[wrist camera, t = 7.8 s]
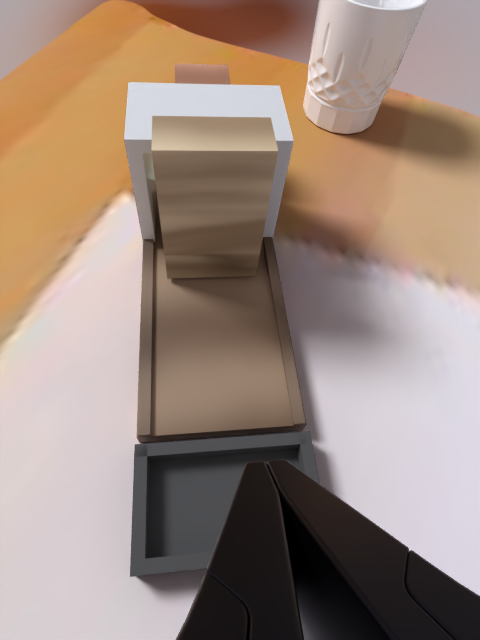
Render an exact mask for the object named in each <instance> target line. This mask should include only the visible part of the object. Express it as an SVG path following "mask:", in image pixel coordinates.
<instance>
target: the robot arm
mask: <svg viewBox="0 0 480 640" xmlns="http://www.w3.org/2000/svg"><path fill="white" fill-rule="evenodd" d="M176 640H480V596H479V595H477V594H476V593H474V592H472V591H471V590H469V589H468V588H466V587H465V586H463V585H461V584H460V583H458V582H457V581H455V580H454V579H452V578H451V577H450V576H448V575H447V574H445V573H444V572H442V571H441V570H439V569H438V568H436V567H435V566H434V565H432V564H431V563H429V562H428V561H426V560H425V559H424V558H422V557H421V556H419V555H418V554H417V553H415V552H414V551H412V550H411V551H409V548H408V547H407V546H405V545H404V544H402V543H401V542H400V541H398V540H397V539H395V538H394V537H393V536H391V535H390V534H389V533H387V532H386V531H384V530H383V529H382V528H380V527H379V526H377V525H376V524H375V523H373V522H372V521H370V520H369V519H368V518H366V517H365V516H363V515H362V514H361V513H359V512H358V511H356V510H355V509H354V508H352V507H351V506H350V505H348V504H347V503H345V502H344V501H343V500H341V499H340V498H338V497H337V496H336V495H334V494H333V493H331V492H330V491H329V490H327V489H326V488H324V487H323V486H322V485H320V484H319V483H317V482H316V481H315V480H313V479H312V478H310V477H309V476H308V475H306V474H305V473H304V472H302V471H301V470H299V469H298V468H297V467H295V466H294V465H292V464H291V463H290V462H288V461H287V460H284V459H282V460H270V461H267V463H265V462H264V461H258V462H248V463H246V464H245V466H244V469H243V472H242V475H241V477H240V480H239V483H238V485H237V488H236V491H235V493H234V496H233V499H232V501H231V504H230V507H229V509H228V512H227V515H226V517H225V520H224V523H223V525H222V528H221V531H220V534H219V536H218V539H217V542H216V544H215V547H214V550H213V552H212V555H211V558H210V560H209V563H208V566H207V568H206V571H205V574H204V576H203V578H202V581H201V584H200V586H199V589H198V592H197V594H196V597H195V599H194V601H193V604H192V606H191V609H190V611H189V613H188V616H187V618H186V620H185V622H184V624H183V626H182V628H181V630H180V632H179V634H178V636H177V638H176Z"/></svg>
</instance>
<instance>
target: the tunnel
mask: <svg viewBox="0 0 480 640" xmlns="http://www.w3.org/2000/svg"><path fill="white" fill-rule="evenodd" d="M152 116H202V117H271V121H272V125H273V130H274V134H275V139H276V143H277V148H278V155H277V161H276V166H275V172H274V177H273V183H272V189H271V194H270V200H269V205H268V211H267V216H266V222H265V228H264V233H263V237H272V240H273V236H274V231H275V227H276V222H277V217H278V212H279V208H280V203H281V198H282V193H283V189H284V184H285V179H286V174H287V170H288V165H289V160H290V155H291V151H292V146H293V141H294V140H293V136H292V133H291V129H290V125H289V121H288V117H287V113H286V109H285V105H284V102H283V98H282V94H281V90H280V86H265V85H222V84H179V83H137V82H129V84H128V97H127V109H126V122H125V135H124V141H125V147H126V152H127V157H128V163H129V168H130V174H131V179H132V185H133V190H134V195H135V201H136V206H137V212H138V217H139V223H140V228H141V233H142V239H143V242H144V239H153V240H154V242H155V231H156V184H155V176H154V168H153V160H152V151H151V147H152ZM262 240H263V239H262Z"/></svg>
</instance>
